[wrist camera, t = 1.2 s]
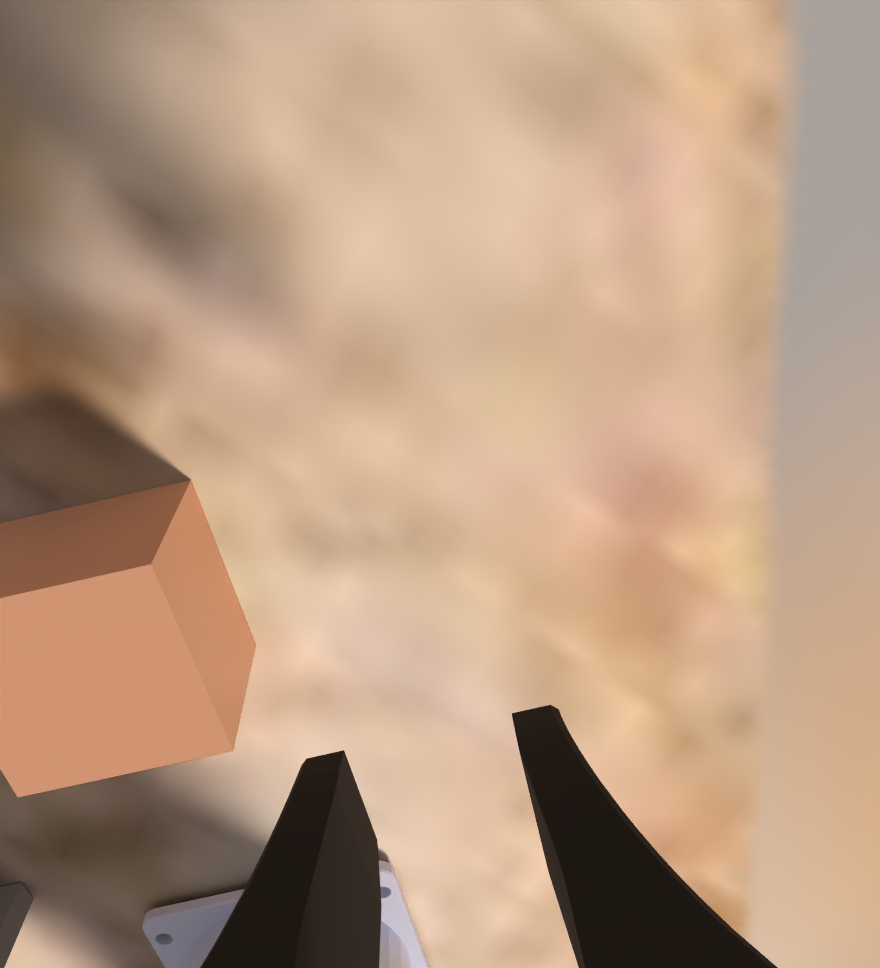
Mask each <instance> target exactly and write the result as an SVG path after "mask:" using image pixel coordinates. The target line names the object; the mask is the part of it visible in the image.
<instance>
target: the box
mask: <svg viewBox="0 0 880 968" xmlns="http://www.w3.org/2000/svg"><path fill="white" fill-rule="evenodd" d="M32 901H33V899H32V897H31V896H30V894H29V893H28V891H27V890H26V888H25V887H24V885H23V884H22V882H21V883H16V884H11V885H7V886H2V887H0V968H4V967H5V964H6V962H7V960H8V957H9V955H10V953H11V950H12V948H13V946H14V943H15V941H16V938H17V936H18V934H19V931H20V929H21V927H22V924H23V922H24V920H25V917H26V915H27V913H28V910H29V908H30V906H31V903H32Z"/></svg>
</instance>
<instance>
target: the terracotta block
mask: <svg viewBox="0 0 880 968" xmlns="http://www.w3.org/2000/svg"><path fill="white" fill-rule="evenodd" d="M255 648H256V643H255V641H254V638H253V636H252V633H251V631H250V628H249V626H248V623H247V621H246V618H245V615H244V613H243V610H242V608H241V605H240V603H239V600H238V598H237V595H236V593H235V590H234V587H233V585H232V582H231V580H230V577H229V575H228V572H227V570H226V567H225V565H224V562H223V559H222V557H221V554H220V552H219V549H218V547H217V544H216V542H215V539H214V537H213V534H212V532H211V529H210V526H209V524H208V521H207V519H206V516H205V514H204V511H203V509H202V506H201V504H200V501H199V498H198V496H197V493H196V491H195V488H194V486H193V483H192V481H191V480H188V481H183V482H179V483H174V484H170V485H166V486H161V487H157V488H152V489H148V490H144V491H139V492H135V493H130V494H126V495H122V496H117V497H113V498H108V499H104V500H100V501H95V502H91V503H86V504H82V505H78V506H73V507H69V508H64V509H60V510H56V511H51V512H47V513H42V514H38V515H34V516H29V517H25V518H20V519H16V520H12V521H7V522H3V523H0V770H1V771H2V773H3V774H4V776H5V778H6V779H7V781H8V783H9V784H10V786H11V787H12V789H13V791H14V792H15V794H16V795H17V797H23V796H27V795H32V794H36V793H41V792H46V791H50V790H55V789H60V788H64V787H69V786H73V785H78V784H83V783H87V782H92V781H96V780H101V779H106V778H110V777H115V776H119V775H124V774H129V773H133V772H138V771H143V770H147V769H152V768H156V767H161V766H166V765H170V764H175V763H179V762H184V761H189V760H193V759H198V758H202V757H207V756H212V755H216V754H221V753H226V752H230V751H233V749H234V745H235V740H236V735H237V731H238V726H239V722H240V717H241V712H242V708H243V703H244V698H245V694H246V689H247V685H248V680H249V675H250V671H251V666H252V662H253V657H254V652H255Z"/></svg>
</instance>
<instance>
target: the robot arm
mask: <svg viewBox="0 0 880 968" xmlns="http://www.w3.org/2000/svg"><path fill="white" fill-rule="evenodd" d="M512 717H513V722H514V727H515V732H516V737H517V742H518V747H519V751H520V755H521V759H522V764H523V768H524V772H525V776H526V780H527V784H528V788H529V793H530V797H531V801H532V805H533V809H534V813H535V817H536V822H537V826H538V830H539V834H540V838H541V842H542V846H543V851H544V855H545V859H546V863H547V867H548V871H549V874H550V878H551V881H552V884H553V887H554V890H555V893H556V897H557V900H558V903H559V906H560V909H561V913H562V916H563V919H564V922H565V925H566V928H567V931H568V935H569V938H570V941H571V944H572V947H573V950H574V954H575V957H576V960H577V963H578V966H579V968H777V967H776V966H775V965H774V964H773V963H771V962H770V961H769V960H768V959H767V958H766V957H765V956H763V955H762V954H761V953H760V952H759V951H758V950H756V949H755V948H754V947H753V946H752V945H751V944H749V943H748V942H747V941H746V940H745V939H744V938H743V937H741V936H740V935H739V934H738V933H737V932H736V931H735V930H733V929H732V928H731V927H730V926H729V925H728V924H727V923H726V922H725V921H724V920H723V919H722V918H721V917H720V916H719V915H718V914H717V913H716V912H714V911H713V910H712V909H711V908H710V907H709V906H708V905H707V904H706V903H705V902H704V901H703V900H702V899H701V898H700V897H699V896H698V895H697V894H696V893H695V892H694V891H693V890H692V889H691V888H690V887H689V886H688V885H687V884H686V883H685V882H684V881H683V880H682V879H681V878H680V877H679V875H678V874H677V873H676V872H675V871H674V870H673V869H672V868H671V867H670V866H669V865H668V864H667V862H666V861H665V860H664V859H663V858H662V857H661V856H660V855H659V854H658V852H657V851H656V850H655V849H654V848H653V847H652V846H651V844H650V843H649V842H648V841H647V840H646V839H645V837H644V836H643V835H642V834H641V833H640V832H639V830H638V829H637V828H636V827H635V826H634V824H633V823H632V822H631V821H630V819H629V818H628V817H627V816H626V814H625V813H624V812H623V811H622V809H621V808H620V807H619V805H618V804H617V803H616V801H615V800H614V799H613V797H612V796H611V795H610V793H609V792H608V791H607V789H606V788H605V787H604V785H603V784H602V783H601V781H600V780H599V779H598V777H597V776H596V774H595V773H594V771H593V770H592V768H591V767H590V765H589V764H588V762H587V761H586V759H585V758H584V756H583V755H582V753H581V752H580V750H579V748H578V747H577V745H576V743H575V742H574V740H573V738H572V737H571V735H570V733H569V731H568V729H567V727H566V725H565V723H564V721H563V719H562V717H561V715H560V712H559V709H557V708H555V707H553V706H551V705H548V706H543V707H539V708H534V709H530V710H525V711H521V712H516V713H512ZM142 929H143V932H144V933H145V935H146V937H147V938H148V940H149V942H150V943H151V945H152V947H153V948H154V950H155V952H156V953H157V955H158V957H159V958H160V960H161V962H162V963H163V965H164V967H165V968H430V965H429V963H428V960H427V957H426V954H425V952H424V949H423V946H422V943H421V941H420V938H419V935H418V932H417V930H416V927H415V924H414V921H413V919H412V916H411V913H410V910H409V908H408V905H407V902H406V899H405V897H404V894H403V891H402V889H401V886H400V883H399V880H398V878H397V875H396V872H395V869H394V868H393V866H392V865H391V864H390V863H388V862H386V861H381V860H379V858H378V845H377V838H376V836H375V833H374V830H373V828H372V825H371V822H370V819H369V817H368V814H367V811H366V809H365V806H364V803H363V801H362V798H361V795H360V792H359V790H358V787H357V784H356V782H355V779H354V776H353V773H352V771H351V768H350V765H349V763H348V760H347V757H346V755H345V752H344V751H339V752H335V753H330V754H326V755H321V756H317V757H312V758H308V759H306V760H305V762H304V763H303V764H302V766H301V768H300V771H299V773H298V775H297V778H296V780H295V783H294V785H293V787H292V790H291V792H290V794H289V797H288V799H287V801H286V804H285V806H284V808H283V810H282V813H281V815H280V817H279V819H278V821H277V824H276V826H275V828H274V830H273V832H272V835H271V837H270V839H269V841H268V843H267V845H266V847H265V849H264V851H263V853H262V855H261V857H260V859H259V861H258V863H257V865H256V867H255V869H254V872H253V874H252V876H251V878H250V880H249V882H248V884H247V885H246V887H245V889H242V890H237V891H232V892H228V893H223V894H218V895H214V896H209V897H204V898H200V899H195V900H191V901H186V902H181V903H177V904H172V905H167V906H163V907H158V908H154V909H152V910H149V911H148V912H147V913H146V915H145V917H144V921H143V924H142Z"/></svg>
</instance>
